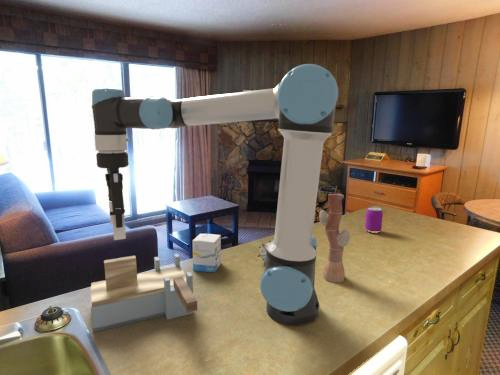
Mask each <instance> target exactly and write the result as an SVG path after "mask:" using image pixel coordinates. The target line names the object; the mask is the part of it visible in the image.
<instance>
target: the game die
mask: <svg viewBox="0 0 500 375" xmlns="http://www.w3.org/2000/svg"><path fill="white" fill-rule="evenodd" d="M270 242H272V240H269V242H267V243H265V244H264V243H262V244H261V245H262V246H259V249H260V250H259V255H257V257H260V258H261V259H262V261H265V262H266V252H267V245H268V244H269V243H270Z"/></svg>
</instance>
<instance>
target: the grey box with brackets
mask: <svg viewBox="0 0 500 375" xmlns="http://www.w3.org/2000/svg"><path fill="white" fill-rule="evenodd" d="M180 258H181V256H180V255H179V253H174V254H173V263H172V264H166V265H160V264H161V261H160V258H159V256H154V257H153V261H154V271H159V270H164V269H170V268H175V267H181V262H180V260H181V259H180ZM185 275H186V283H187V285H188V287H189V288H190V290H191V292H192V293H193V294H194V285H193V284H194V278H193V274H192V272H191V271H188V272H185ZM90 292H91V286H90ZM194 312H195V311H192V312H188V313H187V311H186V310H185V308H184V306H183V304H182V302H181V300H180V298H179V296H178V294H177V292H176V290H175V288H174V286H172V287H170V279H169V277H168V276H166V277H164V292H160V293H155V294H150V295H146V296H141V297H136V298H131V299H127V300H122V301H117V302H112V303H108V304H103V305H98V306H94V307H92V295H91V294H90V313H91V314H90V315H91V325H92V333H96V332H100V331H105V330H106V331H107V330H109V329H113V328H117V327H121V326H126V325H130V324H134V323H138V322H143V321H147V320H151V319H155V318H160V317H163V316H165V318H166V320H167V321H168V320H172V319H176V318H180V317H184V316H189V315H193V314H194Z"/></svg>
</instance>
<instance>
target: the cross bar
mask: <svg viewBox="0 0 500 375" xmlns="http://www.w3.org/2000/svg"><path fill="white" fill-rule="evenodd" d="M173 283H174V288H175V290H176V292H177V294H178V296H179V298H180V300H181V302H182V304H183V306H184V308H185V310H186V311H187V313H188V312H192V311H194V312H196V311H198V300H197V298H196V296H195V295H194V292H193V293H192V292H191V290H190V288H189V287H188V285H187V283H186V282H185V280H184V278H183V277H177V278H173Z"/></svg>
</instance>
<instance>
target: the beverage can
mask: <svg viewBox="0 0 500 375" xmlns="http://www.w3.org/2000/svg"><path fill="white" fill-rule="evenodd" d="M365 212H366V214H365V227H364V229H365V228H366V229H367V230H370V231H381V232H382V227H383V226H382V225H383V215H384V213H383V210H382V208H380V207H376V206H369V207H368V209H367V210H366V211H365Z"/></svg>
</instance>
